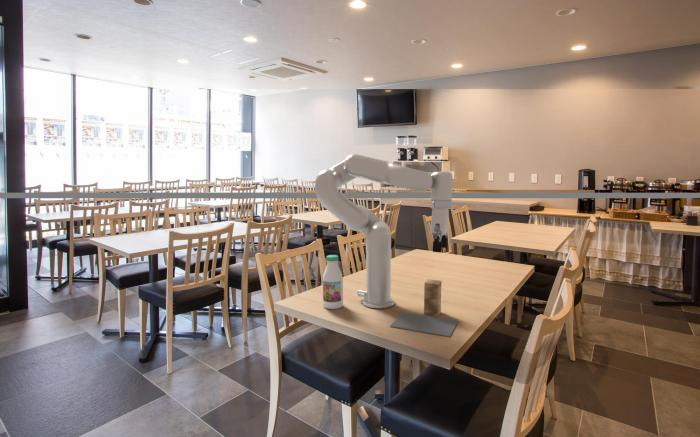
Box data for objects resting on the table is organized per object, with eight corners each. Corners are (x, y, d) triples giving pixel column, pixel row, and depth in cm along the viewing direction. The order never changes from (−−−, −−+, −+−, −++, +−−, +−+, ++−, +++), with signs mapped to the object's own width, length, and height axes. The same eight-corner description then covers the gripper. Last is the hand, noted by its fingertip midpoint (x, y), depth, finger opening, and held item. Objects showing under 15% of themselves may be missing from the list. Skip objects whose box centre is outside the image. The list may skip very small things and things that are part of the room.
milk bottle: (327, 302, 159) (326, 253, 157) (345, 303, 157) (345, 254, 154) (320, 308, 152) (319, 257, 149) (339, 310, 150) (338, 258, 147)
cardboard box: (424, 314, 145) (424, 282, 143) (427, 309, 150) (428, 278, 148) (437, 316, 143) (438, 284, 141) (440, 311, 147) (441, 280, 146)
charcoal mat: (390, 326, 134) (390, 325, 134) (402, 312, 147) (402, 311, 147) (450, 337, 126) (450, 336, 125) (458, 321, 138) (458, 320, 138)
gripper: (436, 202, 159) (435, 244, 161) (425, 206, 143) (424, 253, 146) (455, 203, 156) (454, 246, 158) (446, 207, 140) (444, 255, 143)
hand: (439, 249), depth 152 cm, fingers open, 8 cm apart
